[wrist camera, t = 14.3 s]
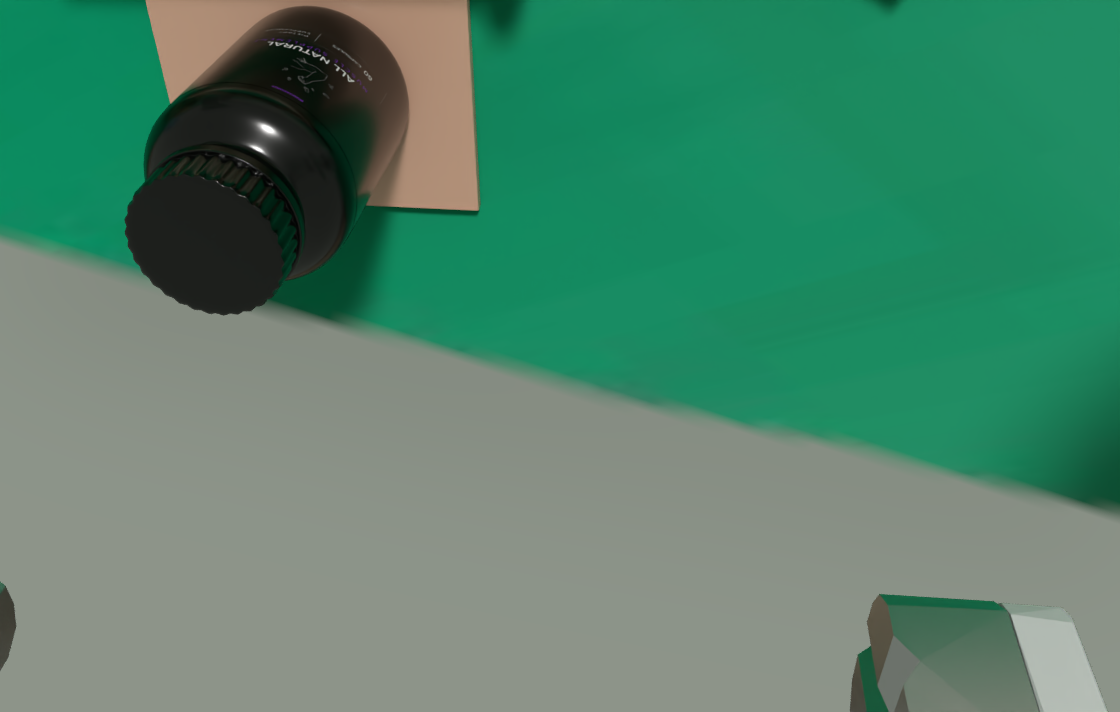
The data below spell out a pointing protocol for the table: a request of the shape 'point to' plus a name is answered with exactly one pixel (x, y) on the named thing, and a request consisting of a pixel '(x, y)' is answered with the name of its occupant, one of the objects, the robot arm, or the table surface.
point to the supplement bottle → (267, 160)
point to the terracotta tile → (419, 48)
